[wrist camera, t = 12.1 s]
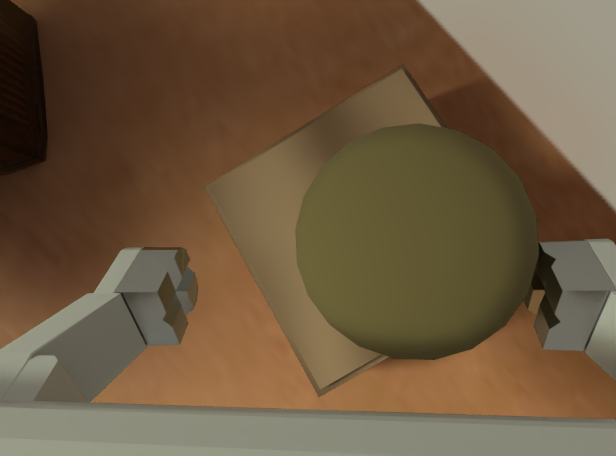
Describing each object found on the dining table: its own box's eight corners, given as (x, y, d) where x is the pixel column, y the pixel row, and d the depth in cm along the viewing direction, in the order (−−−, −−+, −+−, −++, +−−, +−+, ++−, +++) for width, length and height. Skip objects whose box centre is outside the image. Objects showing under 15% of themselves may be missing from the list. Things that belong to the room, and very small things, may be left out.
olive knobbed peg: (518, 174, 18) (600, 81, 8) (502, 325, 18) (562, 438, 8) (368, 165, 20) (270, 82, 10) (354, 303, 20) (240, 368, 10)
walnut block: (330, 372, 25) (317, 399, 20) (238, 206, 27) (200, 185, 22) (505, 272, 25) (546, 268, 19) (397, 109, 27) (403, 59, 21)
